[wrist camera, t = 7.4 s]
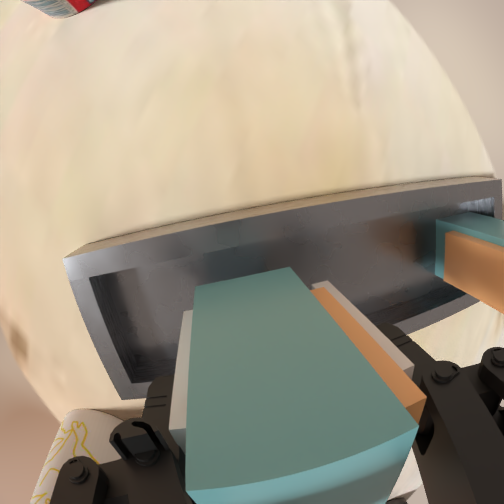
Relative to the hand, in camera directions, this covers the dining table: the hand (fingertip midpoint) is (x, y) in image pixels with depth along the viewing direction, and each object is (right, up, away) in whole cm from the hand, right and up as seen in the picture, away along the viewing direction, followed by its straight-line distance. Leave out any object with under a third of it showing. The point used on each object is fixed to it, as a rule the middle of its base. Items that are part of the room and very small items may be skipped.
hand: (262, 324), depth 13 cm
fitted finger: (+14, +4, +5) cm, 15 cm away
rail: (+4, +2, +5) cm, 7 cm away
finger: (0, 0, 0) cm, 1 cm away
